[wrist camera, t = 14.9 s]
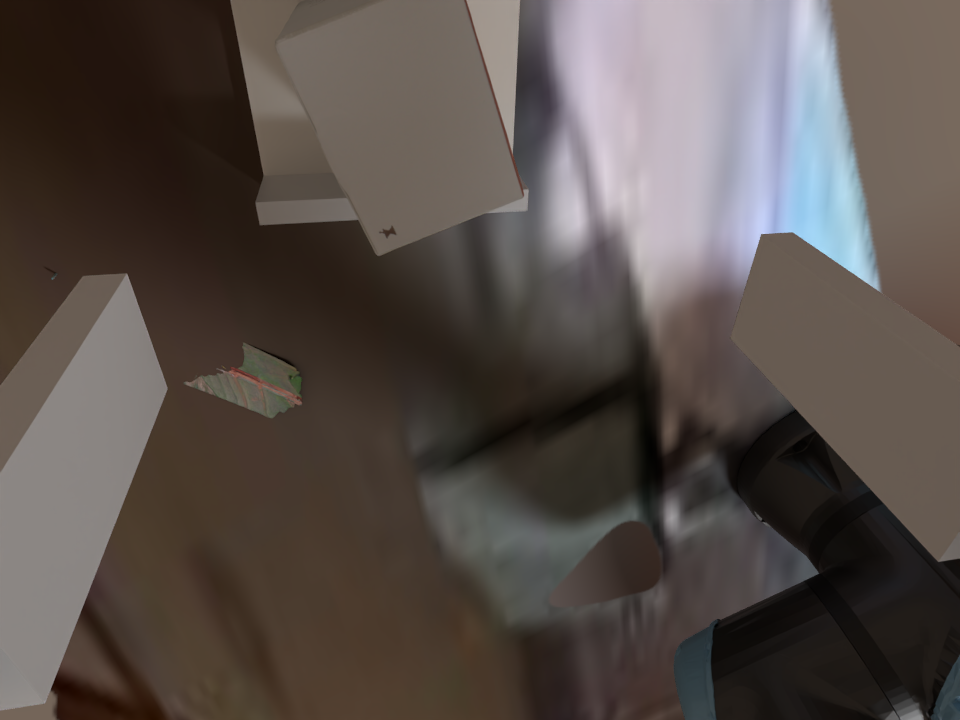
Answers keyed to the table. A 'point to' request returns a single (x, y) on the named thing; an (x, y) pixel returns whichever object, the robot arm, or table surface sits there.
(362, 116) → the small box
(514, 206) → the end holder
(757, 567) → the table surface
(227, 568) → the table surface
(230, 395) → the map
